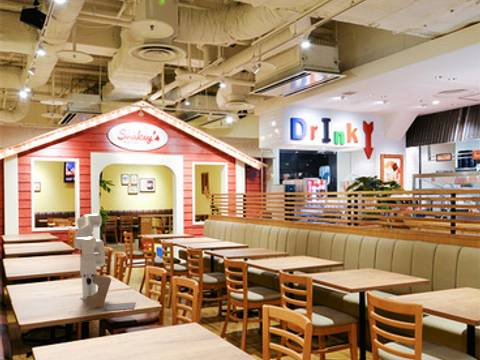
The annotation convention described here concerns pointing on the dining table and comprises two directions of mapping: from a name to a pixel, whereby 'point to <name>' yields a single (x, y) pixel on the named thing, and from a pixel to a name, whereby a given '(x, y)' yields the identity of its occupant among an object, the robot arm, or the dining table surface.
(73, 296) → the dining table surface
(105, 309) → the mat
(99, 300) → the decorative block
